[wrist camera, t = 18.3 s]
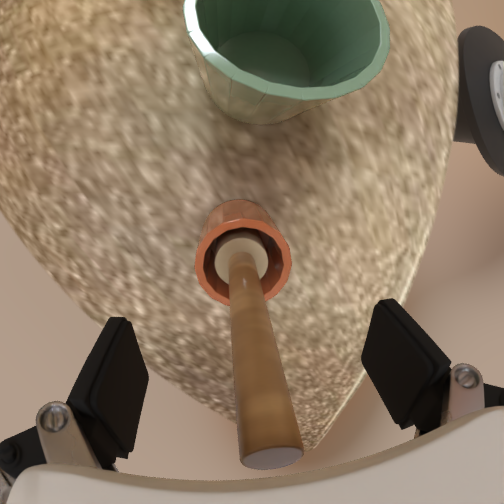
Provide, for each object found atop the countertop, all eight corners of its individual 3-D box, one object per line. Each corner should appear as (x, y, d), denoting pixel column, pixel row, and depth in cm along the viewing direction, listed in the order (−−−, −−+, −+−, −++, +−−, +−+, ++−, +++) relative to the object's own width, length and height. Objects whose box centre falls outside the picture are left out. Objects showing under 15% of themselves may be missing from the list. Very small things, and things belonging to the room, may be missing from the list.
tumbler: (300, 26, 15) (357, -47, 5) (322, 117, 19) (409, 98, 8) (195, 39, 15) (173, -44, 5) (215, 134, 18) (203, 116, 8)
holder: (267, 192, 20) (283, 209, 15) (279, 259, 22) (296, 296, 17) (194, 208, 20) (183, 231, 15) (212, 273, 22) (209, 315, 17)
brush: (258, 216, 20) (350, 416, 5) (258, 255, 22) (323, 469, 6) (215, 217, 20) (196, 435, 4) (218, 257, 21) (215, 482, 6)
